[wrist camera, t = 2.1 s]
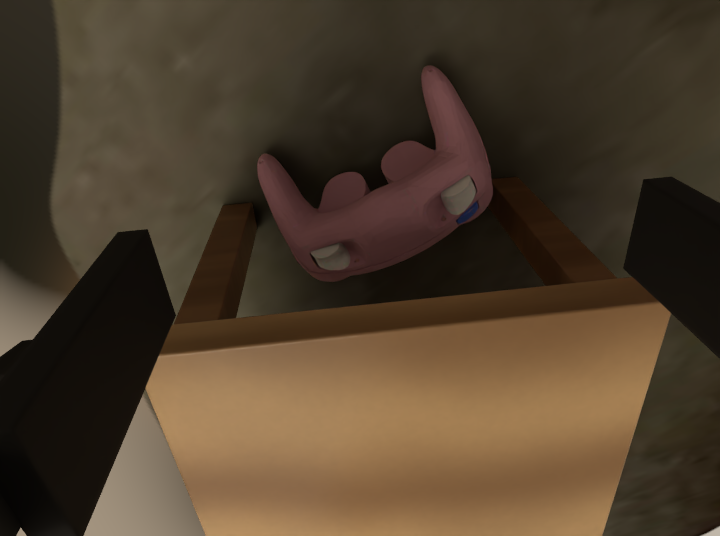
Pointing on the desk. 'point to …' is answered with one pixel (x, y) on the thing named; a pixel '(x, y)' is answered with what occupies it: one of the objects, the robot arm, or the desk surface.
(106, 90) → the desk surface
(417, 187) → the video game controller
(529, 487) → the side table
